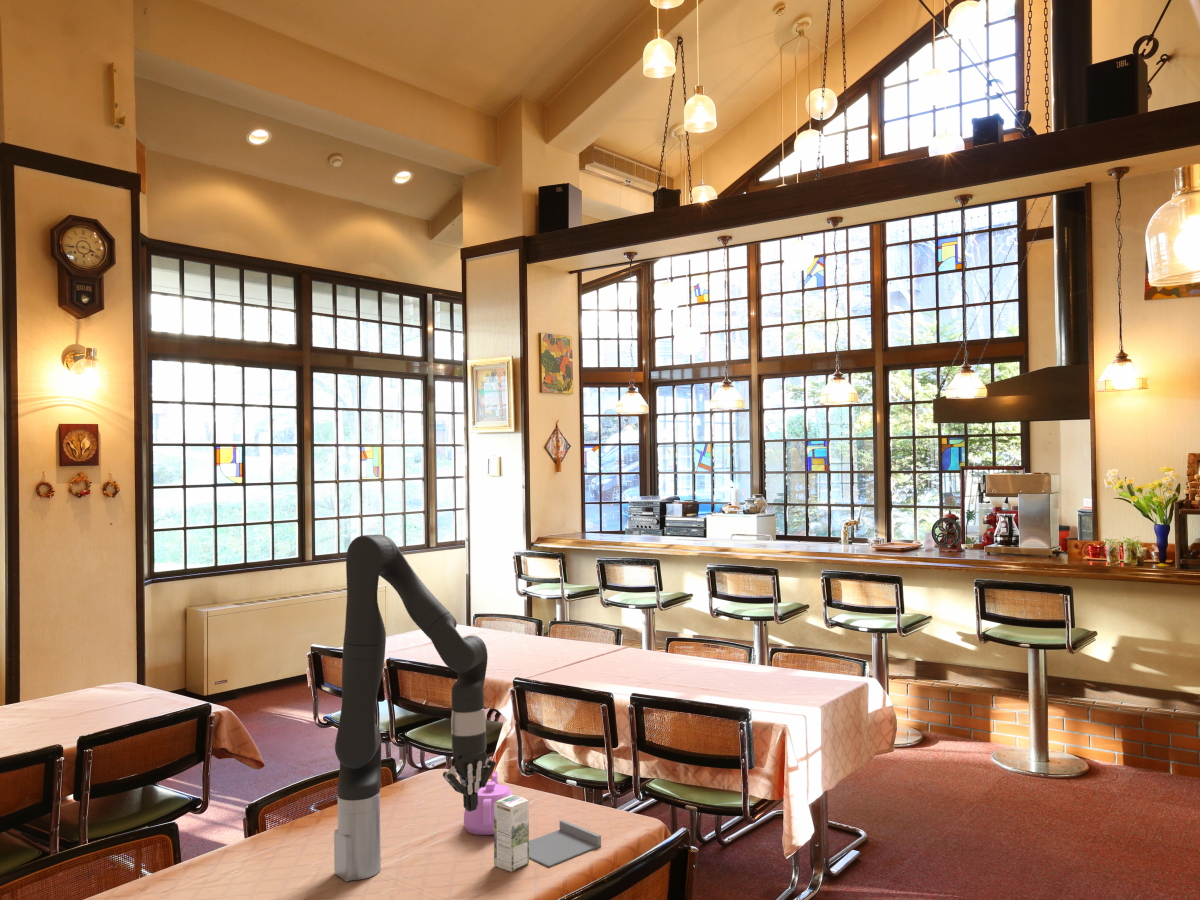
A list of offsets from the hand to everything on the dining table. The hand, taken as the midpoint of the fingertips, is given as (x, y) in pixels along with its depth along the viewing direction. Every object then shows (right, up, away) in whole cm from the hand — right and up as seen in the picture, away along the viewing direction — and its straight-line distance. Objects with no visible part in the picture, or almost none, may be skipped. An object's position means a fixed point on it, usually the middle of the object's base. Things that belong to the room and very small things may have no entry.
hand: (471, 809), depth 188 cm
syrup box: (+8, -16, +7) cm, 19 cm away
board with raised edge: (+18, -15, +15) cm, 28 cm away
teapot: (+1, -17, +30) cm, 34 cm away
